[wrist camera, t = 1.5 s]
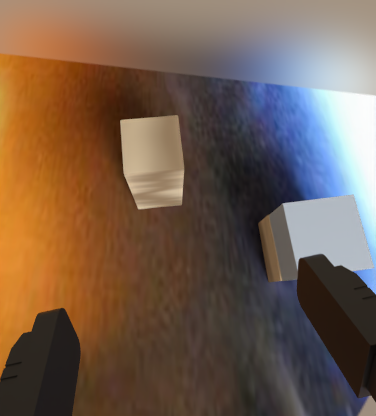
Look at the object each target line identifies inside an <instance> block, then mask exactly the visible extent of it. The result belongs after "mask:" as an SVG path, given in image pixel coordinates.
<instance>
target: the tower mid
mask: <svg viewBox="0 0 376 416" xmlns="http://www.w3.org/2000/svg"><path fill="white" fill-rule="evenodd" d="M269 218H270V223H271V228H272V233H273V237H274V242H275V247H276V252H277V257H278V262H279V266H280V271H281V276H282V281H287V280H294V279H297V277H298V261H299V259H300V258H302V257H307V256H312V255H316V254H324V255H325V256H326V257H327V258H328V260H329V261H330V262H331V263H332V264H333V265H334V267H335V266H339V265H342V266H344V267H345V268H347V269H349V270H351V271H357V270H364V269H371V268H374V265H373V262H372V258H371V255H370V251H369V248H368V244H367V241H366V237H365V234H364V230H363V226H362V223H361V219H360V216H359V212H358V209H357V205H356V202H355V198H354V195H346V196H338V197H330V198H322V199H314V200H306V201H298V202H290V203H283V204H281V205H280V206H279V207H278V208H277V209H276V210H275V211H273V212H272V213H271V214H270V215H269Z"/></svg>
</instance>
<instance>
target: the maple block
mask: <svg viewBox="0 0 376 416" xmlns="http://www.w3.org/2000/svg"><path fill="white" fill-rule="evenodd" d="M120 125H121V140H122V155H123V170H124V176H125V178H126V181H127V183H128V185H129V188H130V190H131V192H132V195H133V197H134V200H135V202H136V204H137V207H138V209H146V208H156V207H166V206H176V205H182V193H183V178H184V163H183V154H182V146H181V138H180V129H179V121H178V115H176V116H164V117H152V118H139V119H127V120H120Z"/></svg>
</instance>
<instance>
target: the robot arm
mask: <svg viewBox="0 0 376 416" xmlns="http://www.w3.org/2000/svg"><path fill="white" fill-rule="evenodd" d="M297 296H298V300H299V303H300V305H301V307H302V309H303V311H304V312H305V314H306V315H307V317H308V319H309V320H310V322H311V323H312V325H313V327H314V328H315V330H316V331H317V333H318V335H319V336H320V338H321V340H322V341H323V343H324V344H325V346H326V348H327V349H328V351H329V352H330V354H331V356H332V357H333V359H334V360H335V362H336V364H337V365H338V367H339V369H340V370H341V372H342V373H343V375H344V377H345V378H346V380H347V381H348V383H349V385H350V386H351V388H352V389H353V391H354V393H355V394H356V396H357V397H358V398H362V397H366V396H370V395H371V396H372V397H373V399H374V400H375V402H376V295H375V293H374V292H373V291H372V290H371V289H370V288H368V287H367V285H366V284H365V283H364V282H363V281H362V279H361V278H360V277H359V276H358V275H357V274H356V273H354V272H352V271H351V270H349V269H347V268H345V267H344V266H342V265H339V266H335V267H334V265H333V264H332V263H331V262H330V261H329V260H328V258H327V257H326V256H325V255H324V254H316V255H312V256H307V257H302V258H300V259H299V261H298V277H297ZM79 363H80V343H79V339H78V337H77V334H76V332H75V330H74V328H73V326H72V323H71V321H70V319H69V317H68V315H67V312H66V311H65V309H64V308H60V309H55V310H50V311H46V312H41V313H38V315H37V316H36V319H35V322H34V325H33V328H32V332H27V333H23V334H22V335H21V337H20V338H19V339H18V341H17V342H16V343H15V345H14V346H13V347H12V349H11V351H10V354H9V356H8V359H7V362H6V365H5V366H6V368H5V369H4V370H3V373H2V376H1V378H0V380H1V381H0V416H72V411H73V404H74V397H75V390H76V383H77V376H78V369H79Z"/></svg>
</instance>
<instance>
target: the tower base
mask: <svg viewBox="0 0 376 416" xmlns="http://www.w3.org/2000/svg"><path fill="white" fill-rule="evenodd" d="M258 226H259V231H260V237H261V242H262V248H263V253H264V259H265V264H266V270H267V275H268V281H269V282H275V281H282V276H281V271H280V266H279V262H278V257H277V252H276V247H275V242H274V237H273V233H272V228H271V223H270V218H269V215H267V216H266V217H265V218H264V219H263V220H262V221H260V222H259V223H258Z"/></svg>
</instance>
